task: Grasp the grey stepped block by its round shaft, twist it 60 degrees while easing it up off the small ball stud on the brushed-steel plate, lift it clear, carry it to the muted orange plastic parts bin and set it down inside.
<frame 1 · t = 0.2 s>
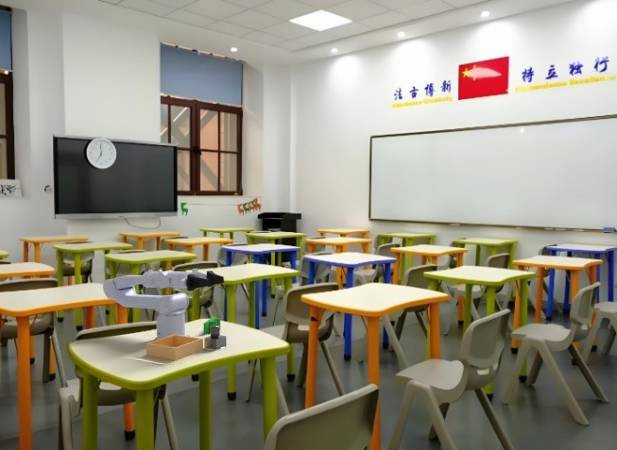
hand: (215, 281, 167), 21 cm above the table, tool horizontal, fingers open, 7 cm apart
grey stepped block: (215, 346, 164), resting on stud plate
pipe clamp: (213, 332, 186), on the table
stud plate: (215, 348, 164), on the table
parts bin: (175, 353, 159), on the table
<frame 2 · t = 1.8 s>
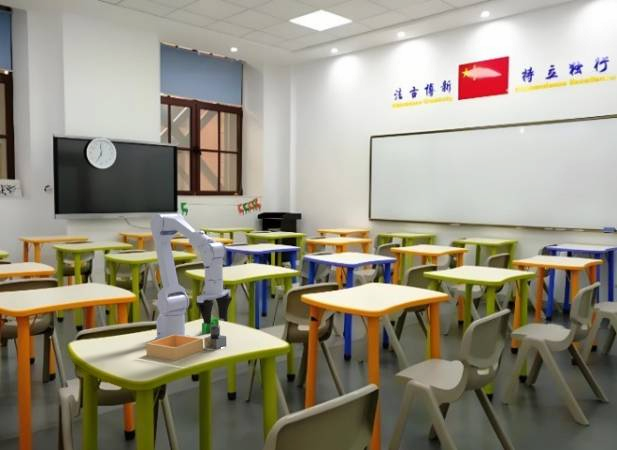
hand: (215, 321, 164), 9 cm above the table, tool pointing down, fingers open, 7 cm apart
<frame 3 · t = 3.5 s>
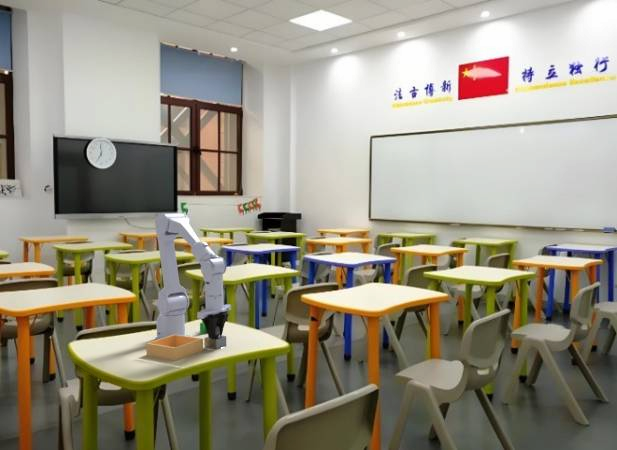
hand: (215, 336, 164), 4 cm above the table, tool pointing down, fingers closed on grey stepped block, 3 cm apart
grey stepped block: (215, 346, 164), resting on stud plate, touching gripper
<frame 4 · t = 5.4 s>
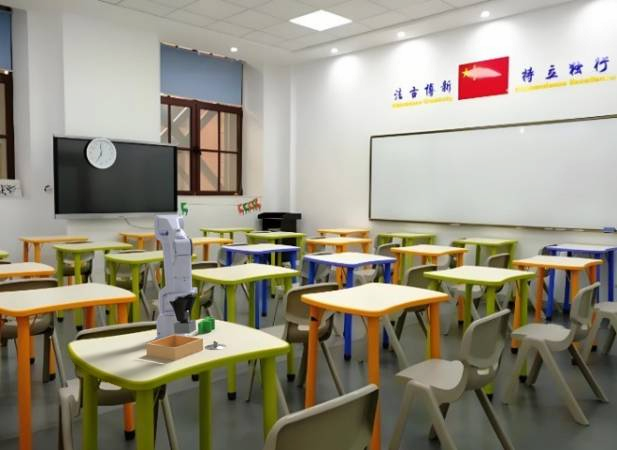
hand: (183, 319, 160), 10 cm above the table, tool pointing down, fingers closed on grey stepped block, 3 cm apart
grey stepped block: (185, 331, 160), point 7 cm above the table, touching gripper
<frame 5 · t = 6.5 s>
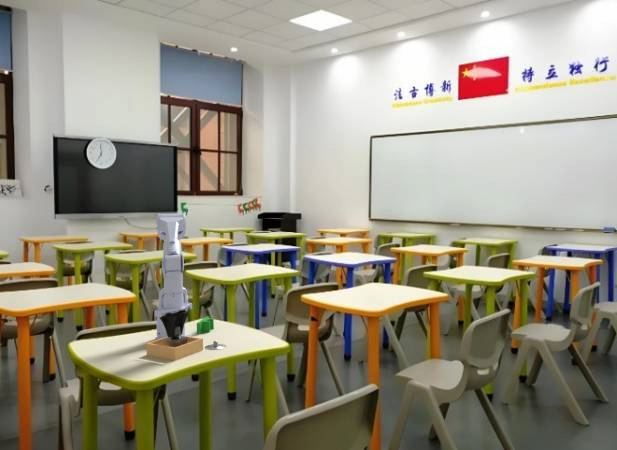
hand: (174, 335, 159), 6 cm above the table, tool pointing down, fingers closed on grey stepped block, 3 cm apart
grey stepped block: (176, 348, 158), point 2 cm above the table, touching gripper
when the fingers open (5 cm above the table, at t = 7.4 s): grey stepped block stays where it is, resting on parts bin.
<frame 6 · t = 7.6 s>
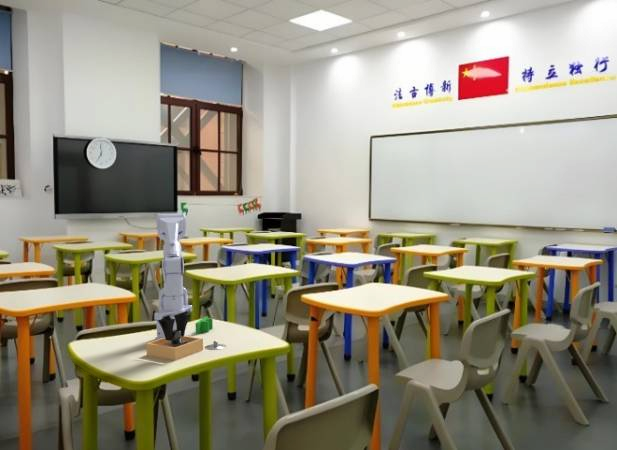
hand: (174, 338, 159), 5 cm above the table, tool pointing down, fingers open, 5 cm apart
grey stepped block: (176, 352, 158), resting on parts bin
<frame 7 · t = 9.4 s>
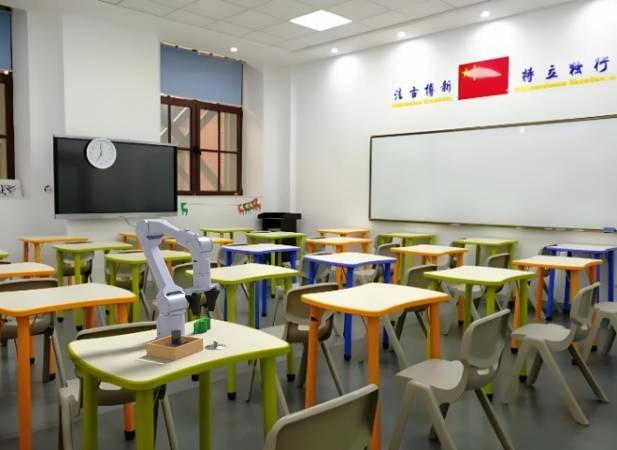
hand: (203, 313, 169), 10 cm above the table, tool pointing down, fingers open, 7 cm apart
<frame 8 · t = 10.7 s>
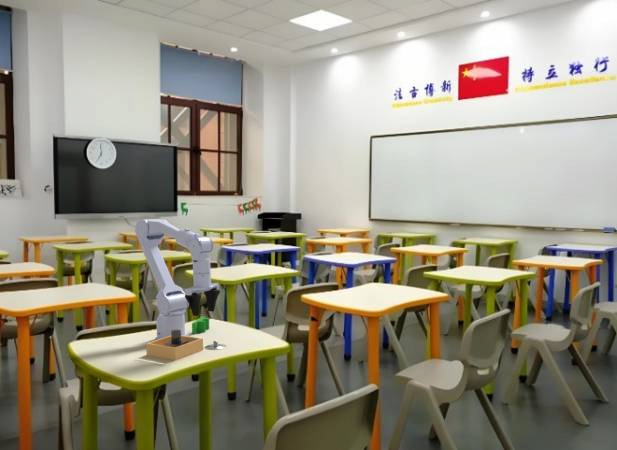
hand: (203, 313, 169), 10 cm above the table, tool pointing down, fingers open, 7 cm apart
at the end: grey stepped block inside the target area on the parts bin (0.6 cm from its centre), point 0.5 cm above the parts bin's base; the gripper is holding nothing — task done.
